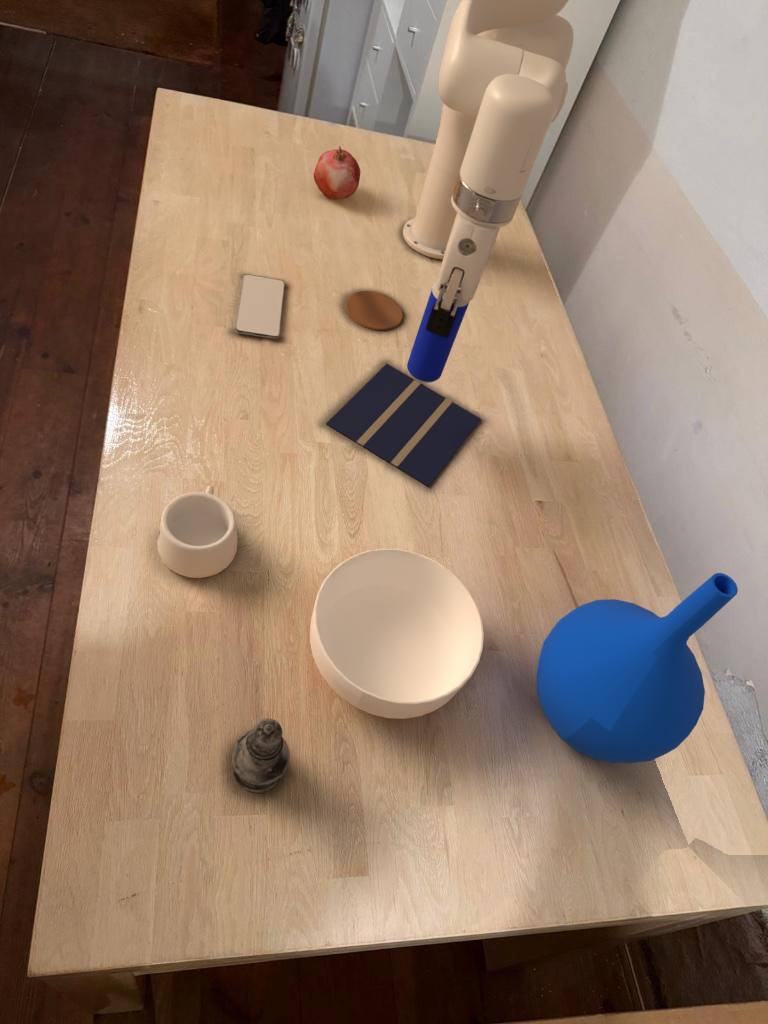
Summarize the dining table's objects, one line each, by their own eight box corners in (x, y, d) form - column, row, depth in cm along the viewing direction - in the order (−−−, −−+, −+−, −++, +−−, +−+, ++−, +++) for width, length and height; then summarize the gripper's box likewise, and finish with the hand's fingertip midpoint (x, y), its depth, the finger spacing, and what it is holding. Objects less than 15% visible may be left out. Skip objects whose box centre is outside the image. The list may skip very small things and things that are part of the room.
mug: (228, 587, 91) (231, 561, 86) (147, 572, 89) (146, 545, 85) (247, 510, 98) (250, 482, 93) (173, 496, 97) (173, 466, 92)
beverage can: (444, 368, 109) (477, 284, 97) (434, 390, 105) (466, 306, 94) (412, 354, 109) (440, 269, 97) (401, 376, 106) (429, 290, 94)
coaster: (375, 286, 133) (375, 284, 133) (413, 318, 130) (414, 317, 130) (334, 303, 128) (334, 301, 127) (373, 337, 125) (373, 335, 124)
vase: (680, 766, 90) (857, 658, 67) (550, 801, 84) (694, 696, 60) (614, 631, 99) (747, 497, 76) (492, 653, 93) (598, 514, 70)
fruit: (335, 176, 152) (344, 127, 145) (365, 201, 149) (376, 153, 142) (300, 185, 148) (307, 135, 140) (331, 211, 144) (340, 162, 137)
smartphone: (234, 330, 117) (243, 273, 126) (234, 333, 118) (243, 275, 127) (279, 338, 118) (285, 280, 127) (278, 340, 119) (284, 283, 128)
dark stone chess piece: (231, 739, 80) (238, 695, 70) (285, 739, 81) (300, 696, 72) (228, 796, 76) (236, 757, 67) (286, 795, 78) (301, 756, 68)
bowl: (483, 630, 95) (506, 597, 88) (425, 764, 83) (447, 738, 76) (348, 559, 97) (361, 521, 90) (272, 680, 85) (280, 647, 78)
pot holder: (386, 364, 121) (386, 363, 121) (480, 420, 118) (481, 418, 118) (325, 424, 110) (326, 423, 110) (428, 487, 107) (428, 485, 107)
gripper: (503, 247, 80) (454, 369, 94) (528, 173, 90) (480, 294, 105) (438, 222, 80) (399, 348, 94) (470, 152, 90) (430, 275, 105)
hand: (442, 318), depth 99 cm, fingers closed on beverage can, 5 cm apart
